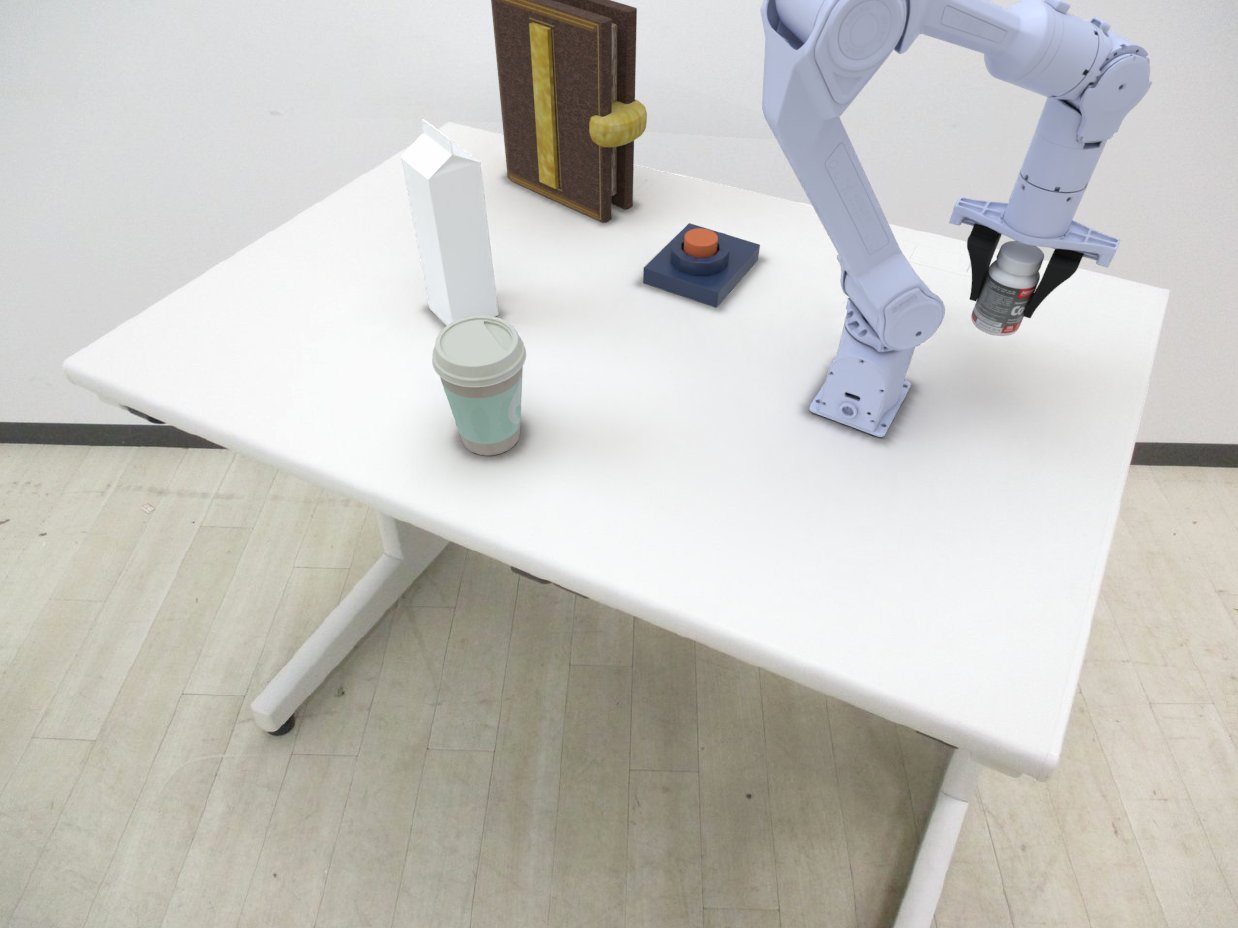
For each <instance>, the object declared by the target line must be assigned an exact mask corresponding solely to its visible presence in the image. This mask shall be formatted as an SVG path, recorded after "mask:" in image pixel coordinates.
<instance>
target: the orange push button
mask: <svg viewBox="0 0 1238 928" xmlns="http://www.w3.org/2000/svg"><path fill="white" fill-rule="evenodd" d="M708 229H709V228H707V229H703V228H697V229H692V230H690V231H688V232H687V233H686V234H685V236H684V252H685V253H686V254H687V255H691V256H694V257H710V256H713V255H715V254H716V252H717V244H718V236H717V234H716V233H714V232H713V231H711V230H712V229H710V230H708Z"/></svg>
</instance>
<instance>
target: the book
mask: <svg viewBox="0 0 1238 928" xmlns="http://www.w3.org/2000/svg"><path fill="white" fill-rule="evenodd" d="M490 3H491V5H490V6H491V15H492V25H493V35H494V36H493V37H494V45H495V47H494V48H495V59H496V70H497V79H498V90H499V99H500V110H501V111H500V112H501V123H502V131H503V140H504V141H503V142H504V143H503V144H504V153H505V165H506V174H507V175H506V176H507V178H508V180H509V181H511V183H514V184H517V185H519V186H520V187H523V188H525V189H527V190H529V191H532V192H534V193H535V194H538V195H540V196H543V197H545V198H547V199H549V200H552V201H553V202H555V203H558V204H561V205H563V206H565V207H566V208H569V209H572V210H573V211H575V212H578V213H580V214H582V215H585V216H587V217H589V218H592V219H594V220H596V221H598V222H600V223H602V224H605V223H608V222H609V221H611V220H612V218H613V217H612V216H613V214H612V212H613V210H612V207H613V206H616V207H618V208H619V209H622V210H629V209H631V208H633V207H634V168H635V167H634V166H635V165H634V164H635V141H636V140H637V139H639V138H640V137H642V135H643V134H644V133H645V131H646V128H647V122H648V112H647V108H646V106H645V105H644V104H643V103H642V102H641V101H640V100H638V99H636V75H637V73H636V71H637V70H636V67H637V24H638V23H637V19H638V17H637V16H638V8H637V7H635V6H631V5H628V4H625V3H622V2H618V1H615V0H490Z"/></svg>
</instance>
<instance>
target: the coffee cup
mask: <svg viewBox="0 0 1238 928" xmlns="http://www.w3.org/2000/svg"><path fill="white" fill-rule="evenodd" d="M434 343H435V344H434V347H433V349H432V354H431V355H432V359H431V364H432V368H433V370H434V371H435V373H436V374H437V375H438V376H439V378H440V381H441V385H442V387H443V390H444V393H445V397H446V400H447V402H448V404H449V407H450V411H451V413H452V415H453V419H454V422H455V425H456V427H457V430H458V433H459V436H460V438H461V442H462V444H463V445H464V447H465V448H466V450H468V451H470V452H471V453H474V454H476V455H478V456H479V455H480V456H497V455H500V454H503V453H505V452H508V451H510V450H511V449H512V448H513V447H514V446H516V444H517V443H518V442H519V439H520V436H521V422H522V421H521V419H522V418H521V417H522V396H523V395H522V393H523V371H524V364H525V362H526V360H527V349H526V346H525V343H524V340H523V339H522V337H521V336H520V335H519V333H518V331H517V329H516V328H515V326H514V325H512V324H511V323H510V322H508V321H506V320H505V319H502V318H500V317H498V316H495V317H492V316H470V317H465V318H462V319H459V320H456V321H454V322H452V323H450V324H449V325H447V326H446V325H445V327H443V328H442V329H441V330H440V331H439V333H438V334H437V336H436V338H435V342H434Z"/></svg>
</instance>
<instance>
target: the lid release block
mask: <svg viewBox="0 0 1238 928" xmlns="http://www.w3.org/2000/svg"><path fill="white" fill-rule="evenodd" d="M697 228H703V229H708V230H711V231H713V232H714V233H716V234H717V236H718V244H717V252H716V254H715V255H713V256H710V257H694V256H691V255H687V254H686V253H685V252H684V236H685V234H686V233H687V232H688V231H690V230H692V229H697ZM760 249H761V244H760V243H757V242H753V241H750V240H746V239H743V238H740V237H736V236H733V235H730V234H727V233H723V232H720V231H717V230H713V229H710V228H706V227H704V226H701V225H698V224H697V225H696V224H694V223H690V222H689V223H688V224H686V226H684V227H683V229H681V230H680V232H678V233H677V234H676V235H675V236H674V237H673V238H672V239H671V240H670V241H669V242H668V243H667V244H666V245H665V246H664V247H663V248H662V249H661V250H660V251H659V252H658V253H657V254H656V255H655V256H654V257H652V259H651V260H650V261H649V262H648V263H646V264H645V266H644V267H643V274H642V277H643V278H642V283H643V284H645V285H649V286H650V287H654V288H657V289H660V290H663V291H666V292H669V293H672V294H676V295H678V296H681V297H683V298H687V299H690V300H692V301H695V302H698V303H702V304H704V305H708V306H710V307H713V308H718V307H719V306H720V304H721V303H722V302H723V301H724V300H725V299H726V298H727V296H728V295H729V294H730V293H731V292H732V290H734V289H735V287H736V286H737V285H738V284H739V283H740V281H741V280H742V279H743V278H744V277H745V276H746V274H747V273H749V271H750V270H751V269H752V267H753V266H754V265H755V264H756V263H757V262H758V260H759V256H760V251H761V250H760Z"/></svg>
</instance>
